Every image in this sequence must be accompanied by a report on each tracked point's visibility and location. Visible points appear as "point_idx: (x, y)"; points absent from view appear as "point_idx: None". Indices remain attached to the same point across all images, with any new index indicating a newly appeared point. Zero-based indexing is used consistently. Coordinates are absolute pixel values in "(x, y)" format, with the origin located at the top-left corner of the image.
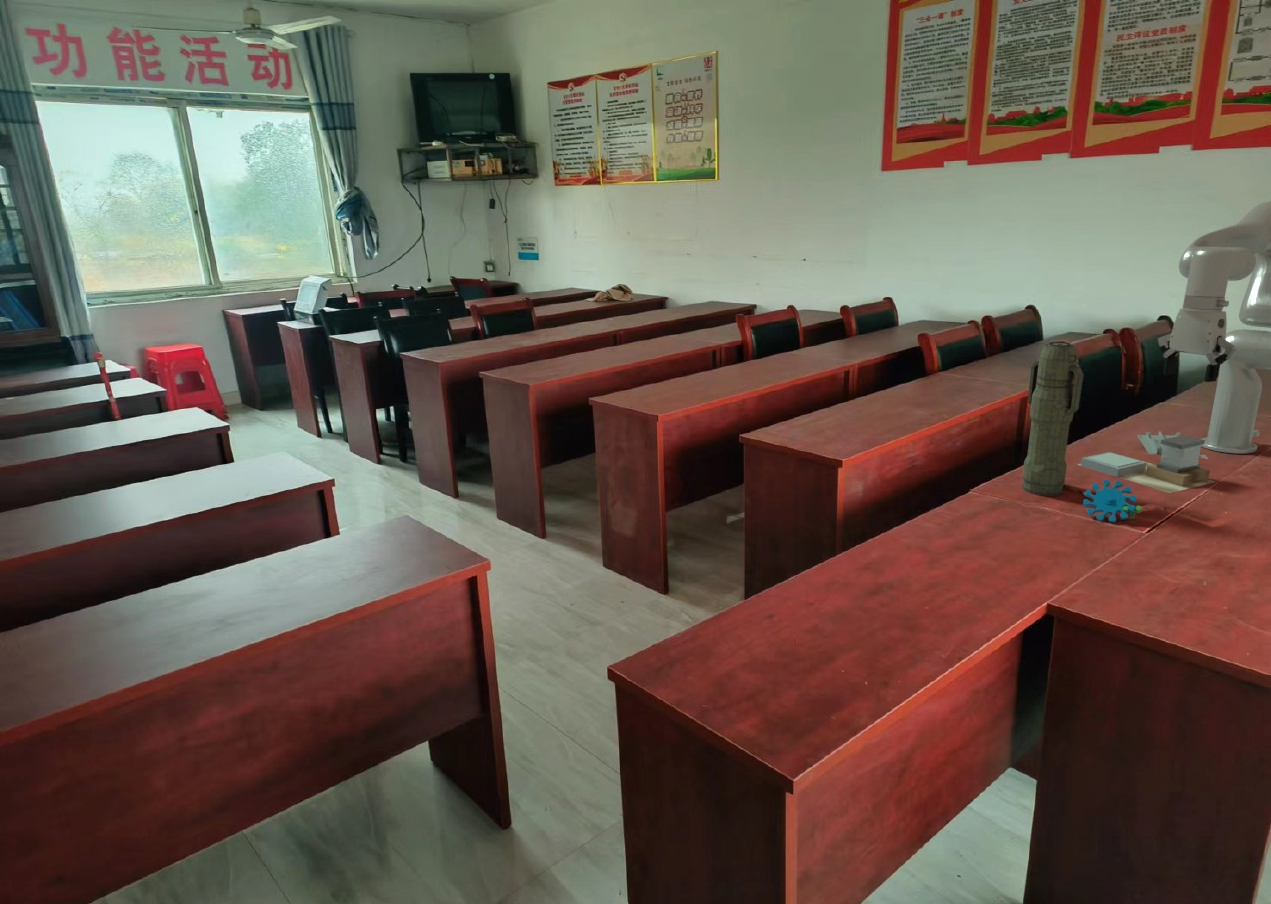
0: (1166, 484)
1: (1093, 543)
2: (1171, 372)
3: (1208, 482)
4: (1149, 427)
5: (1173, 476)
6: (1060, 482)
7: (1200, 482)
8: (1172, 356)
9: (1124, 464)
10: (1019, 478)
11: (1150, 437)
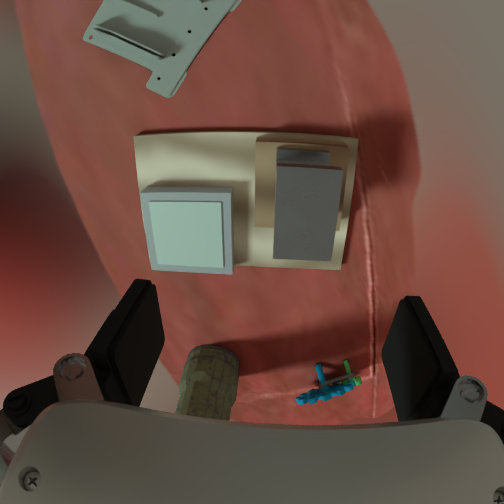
0: None
1: (349, 414)
2: (156, 316)
3: (352, 155)
4: None
5: None
6: (238, 378)
7: None
8: (116, 402)
9: (220, 247)
10: (165, 350)
11: (110, 31)
